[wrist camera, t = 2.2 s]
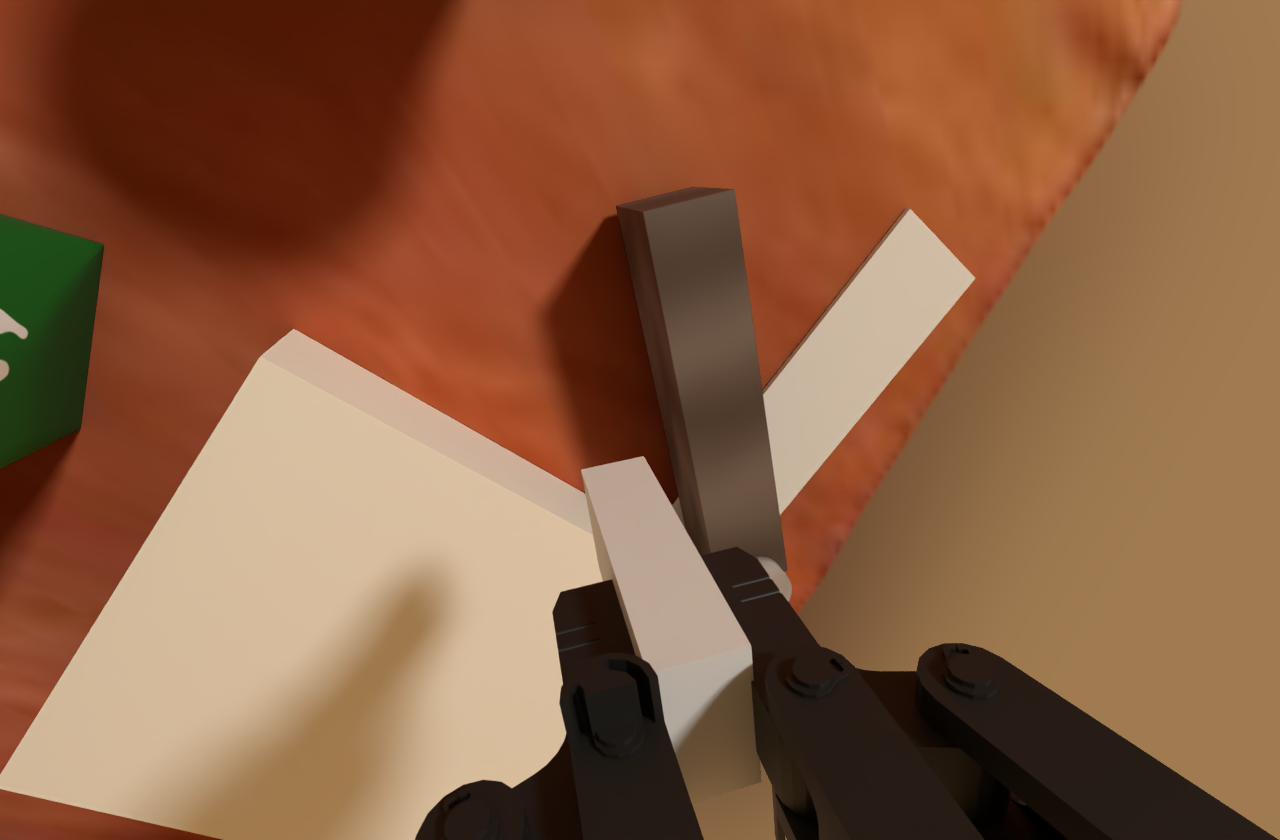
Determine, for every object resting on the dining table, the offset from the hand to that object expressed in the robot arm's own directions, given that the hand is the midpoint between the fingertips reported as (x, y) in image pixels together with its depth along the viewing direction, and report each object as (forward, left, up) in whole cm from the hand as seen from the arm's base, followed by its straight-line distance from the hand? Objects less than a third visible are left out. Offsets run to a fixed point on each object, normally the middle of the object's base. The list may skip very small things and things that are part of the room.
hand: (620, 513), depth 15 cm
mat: (+11, +6, -13) cm, 18 cm away
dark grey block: (+6, +2, -13) cm, 14 cm away
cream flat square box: (+1, -14, -13) cm, 19 cm away
